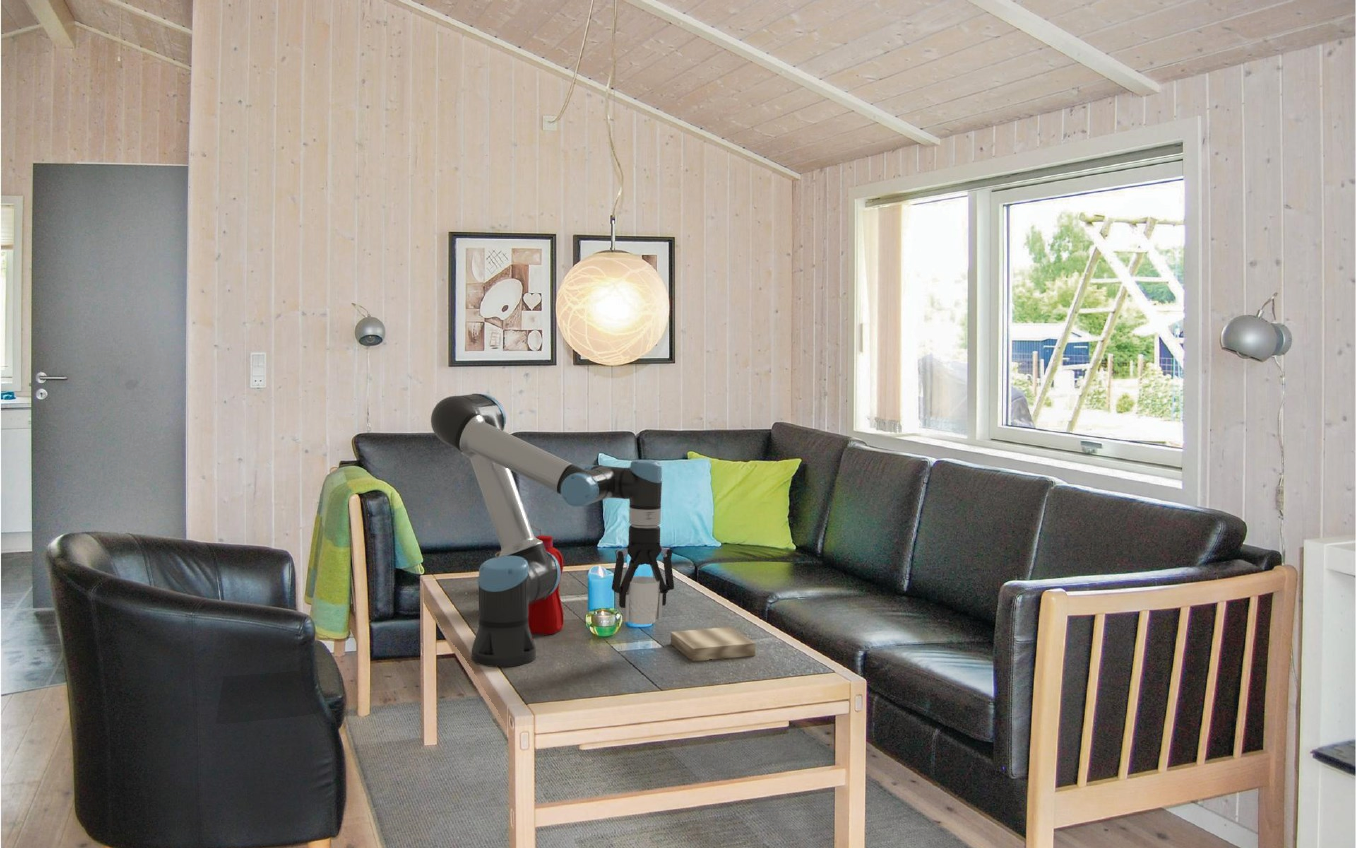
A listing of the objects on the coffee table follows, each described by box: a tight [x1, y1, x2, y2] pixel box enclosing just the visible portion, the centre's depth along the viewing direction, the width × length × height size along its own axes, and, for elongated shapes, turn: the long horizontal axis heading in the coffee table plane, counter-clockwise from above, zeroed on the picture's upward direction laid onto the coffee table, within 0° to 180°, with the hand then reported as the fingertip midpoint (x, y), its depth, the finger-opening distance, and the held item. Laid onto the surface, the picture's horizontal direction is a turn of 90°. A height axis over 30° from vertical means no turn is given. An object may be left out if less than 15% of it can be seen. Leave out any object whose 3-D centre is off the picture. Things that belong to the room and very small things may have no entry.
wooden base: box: [670, 626, 756, 662], centre depth 273 cm, size 16×16×3 cm
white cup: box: [627, 575, 660, 625], centre depth 265 cm, size 8×8×10 cm
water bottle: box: [528, 534, 565, 636], centre depth 289 cm, size 9×11×25 cm
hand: (642, 619), depth 266 cm, fingers closed on white cup, 8 cm apart
